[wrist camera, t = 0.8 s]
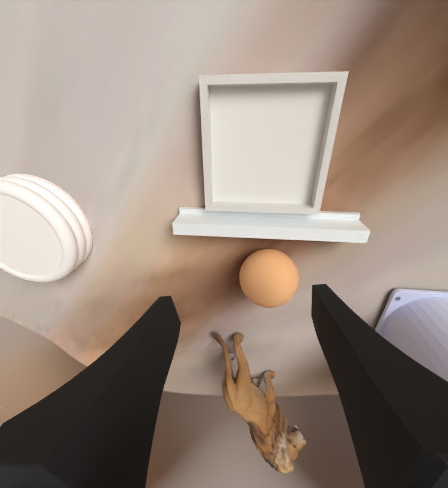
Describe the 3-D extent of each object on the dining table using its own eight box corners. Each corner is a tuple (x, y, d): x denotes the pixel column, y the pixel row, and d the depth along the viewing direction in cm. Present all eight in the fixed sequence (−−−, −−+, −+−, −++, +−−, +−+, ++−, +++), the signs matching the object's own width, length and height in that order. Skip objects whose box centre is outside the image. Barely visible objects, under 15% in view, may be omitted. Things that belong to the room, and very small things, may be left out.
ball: (289, 284, 23) (298, 323, 18) (239, 281, 23) (237, 318, 19) (297, 240, 20) (309, 272, 16) (241, 237, 21) (238, 268, 17)
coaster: (102, 201, 21) (77, 215, 18) (89, 278, 26) (67, 299, 23) (-8, 152, 20) (-56, 158, 17) (-1, 242, 25) (-37, 259, 22)
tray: (314, 208, 19) (319, 214, 18) (208, 205, 20) (205, 210, 19) (341, 75, 15) (348, 71, 13) (202, 78, 15) (198, 75, 14)
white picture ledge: (352, 234, 20) (364, 248, 17) (182, 227, 21) (174, 239, 19) (358, 212, 19) (372, 224, 16) (180, 206, 20) (171, 217, 18)
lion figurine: (300, 384, 31) (317, 476, 23) (268, 395, 33) (273, 483, 25) (229, 320, 26) (219, 406, 18) (197, 338, 28) (176, 422, 20)
